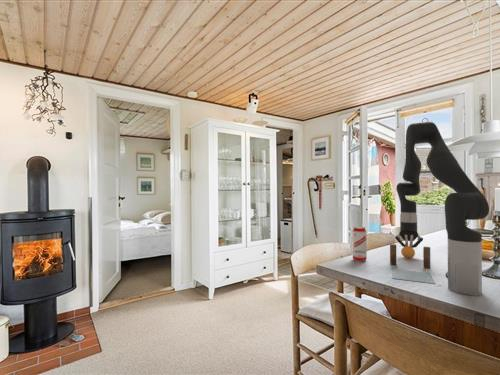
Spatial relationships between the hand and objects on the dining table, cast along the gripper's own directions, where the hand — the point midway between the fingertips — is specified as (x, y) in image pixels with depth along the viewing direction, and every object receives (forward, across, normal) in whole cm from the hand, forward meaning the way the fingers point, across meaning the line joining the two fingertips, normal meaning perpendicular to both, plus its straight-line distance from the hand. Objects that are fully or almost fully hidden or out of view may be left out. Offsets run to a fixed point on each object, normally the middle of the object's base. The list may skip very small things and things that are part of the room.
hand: (409, 255), depth 141 cm
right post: (+1, +6, -19) cm, 20 cm away
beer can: (+1, -21, -19) cm, 29 cm away
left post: (+1, -7, -19) cm, 20 cm away
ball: (-2, -1, -4) cm, 5 cm away
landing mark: (+1, 0, -35) cm, 35 cm away
